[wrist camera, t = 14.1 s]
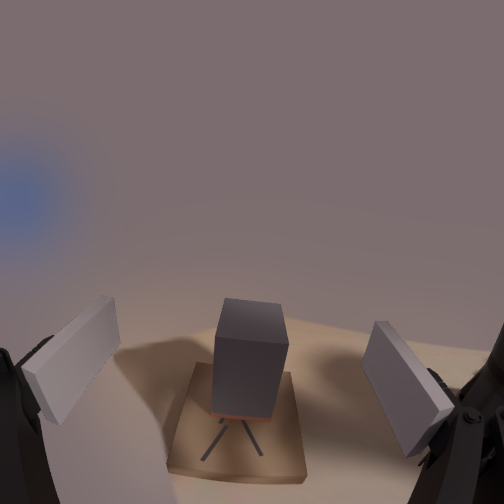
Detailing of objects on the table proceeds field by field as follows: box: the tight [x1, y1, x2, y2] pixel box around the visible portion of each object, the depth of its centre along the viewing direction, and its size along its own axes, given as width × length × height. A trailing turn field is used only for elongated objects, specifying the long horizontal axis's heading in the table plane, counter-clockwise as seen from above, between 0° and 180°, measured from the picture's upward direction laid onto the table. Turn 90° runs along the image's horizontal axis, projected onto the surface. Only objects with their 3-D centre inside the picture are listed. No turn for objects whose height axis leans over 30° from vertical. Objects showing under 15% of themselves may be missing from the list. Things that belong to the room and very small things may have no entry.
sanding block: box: [211, 298, 289, 422], centre depth 26 cm, size 6×8×10 cm
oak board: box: [166, 362, 307, 484], centre depth 25 cm, size 12×16×2 cm
